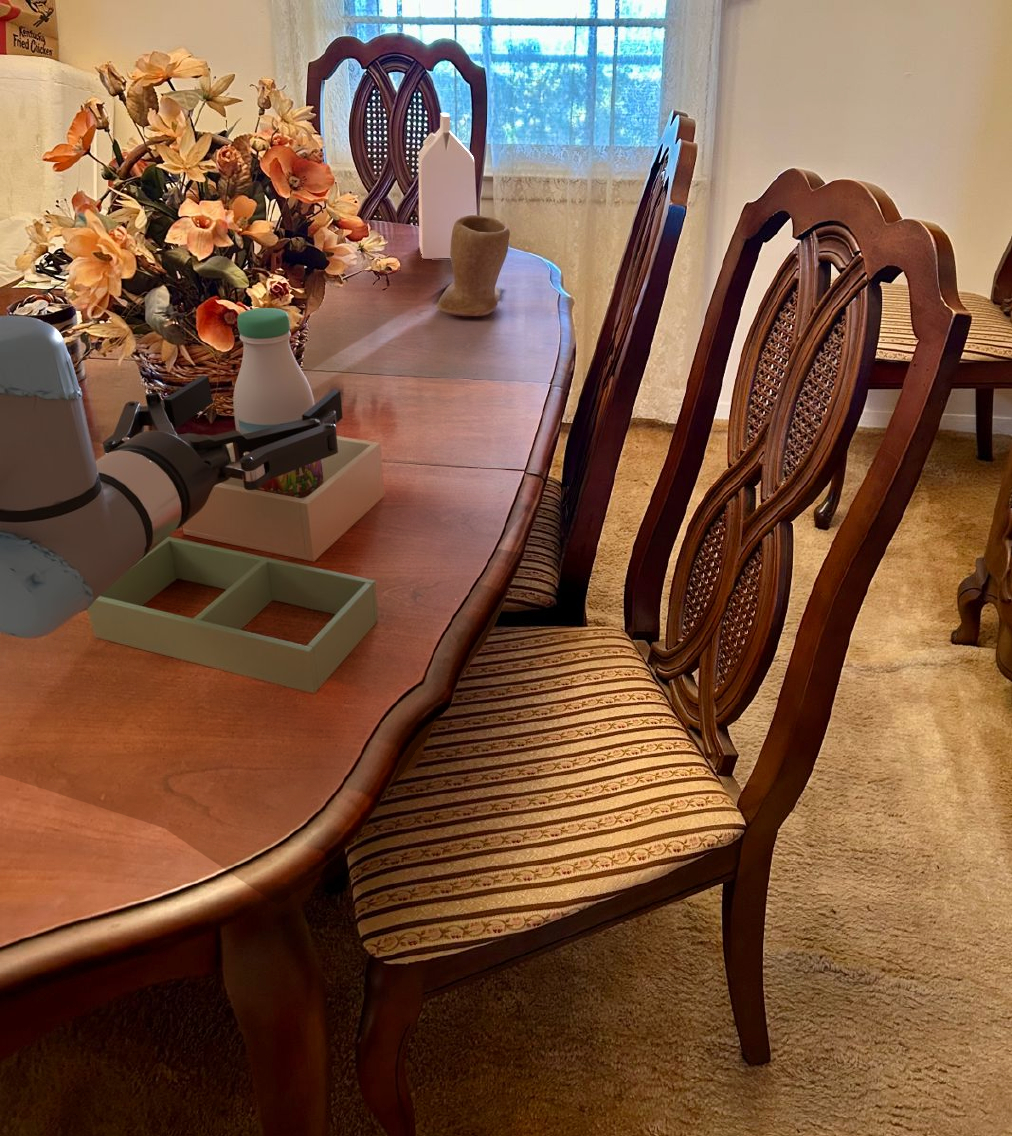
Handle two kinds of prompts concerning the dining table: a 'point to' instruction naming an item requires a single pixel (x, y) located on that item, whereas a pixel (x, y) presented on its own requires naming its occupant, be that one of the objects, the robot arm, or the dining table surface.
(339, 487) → the cream square box
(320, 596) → the green divided tray
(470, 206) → the milk
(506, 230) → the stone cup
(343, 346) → the dining table surface
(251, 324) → the milk bottle
